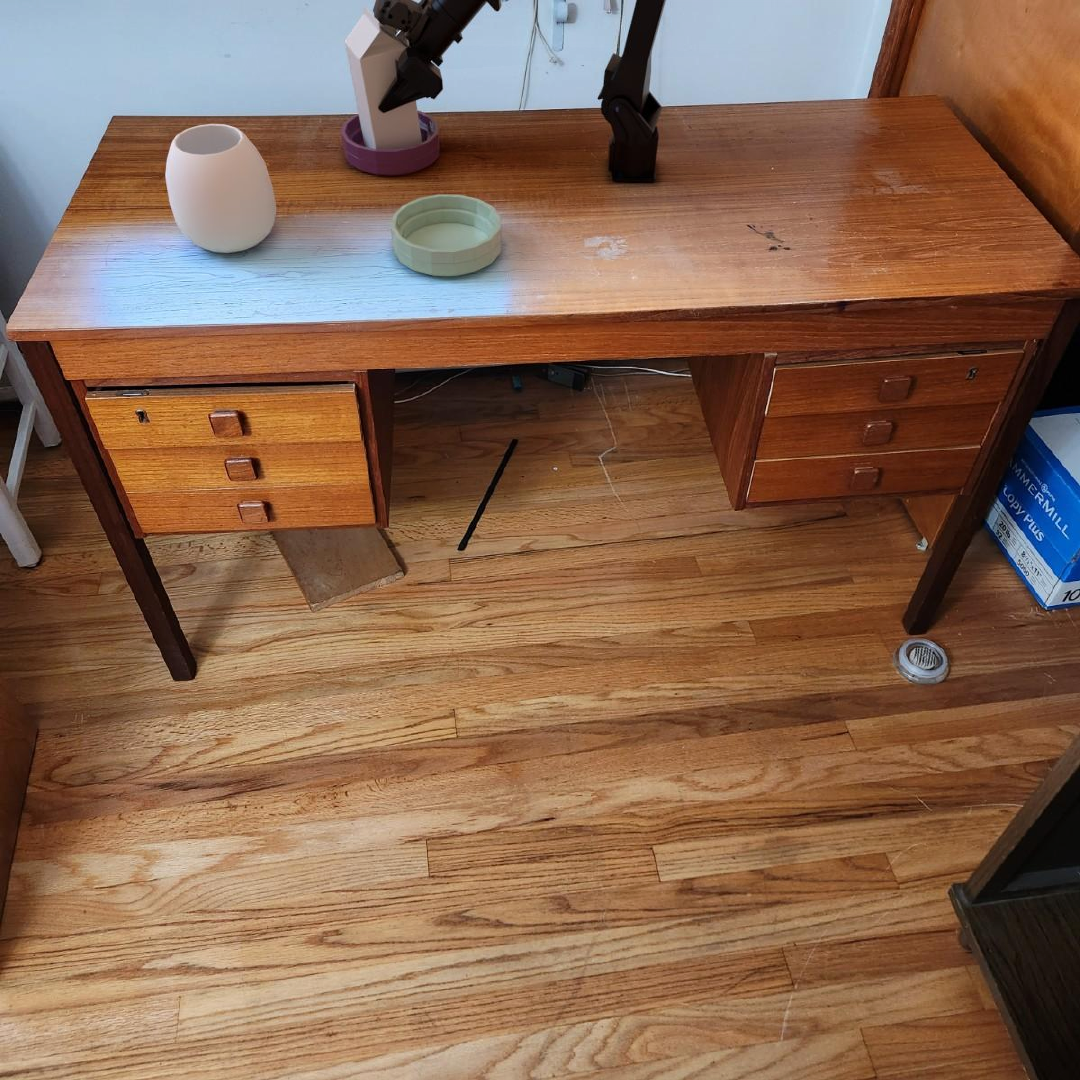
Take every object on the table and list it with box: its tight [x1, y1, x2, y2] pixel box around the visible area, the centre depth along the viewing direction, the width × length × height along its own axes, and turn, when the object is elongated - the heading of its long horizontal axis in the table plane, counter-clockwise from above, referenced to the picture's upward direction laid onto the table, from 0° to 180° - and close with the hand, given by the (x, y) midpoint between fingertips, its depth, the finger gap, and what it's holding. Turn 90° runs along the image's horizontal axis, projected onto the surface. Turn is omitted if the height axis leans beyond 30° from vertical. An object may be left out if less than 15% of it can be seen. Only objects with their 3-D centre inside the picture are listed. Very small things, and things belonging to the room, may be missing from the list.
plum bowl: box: [340, 109, 441, 177], centre depth 143 cm, size 14×14×4 cm
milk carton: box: [344, 4, 422, 150], centre depth 137 cm, size 7×7×19 cm
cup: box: [164, 123, 278, 254], centre depth 123 cm, size 13×13×14 cm
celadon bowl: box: [390, 193, 502, 277], centre depth 126 cm, size 14×14×4 cm
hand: (378, 97), depth 138 cm, fingers closed on milk carton, 8 cm apart
